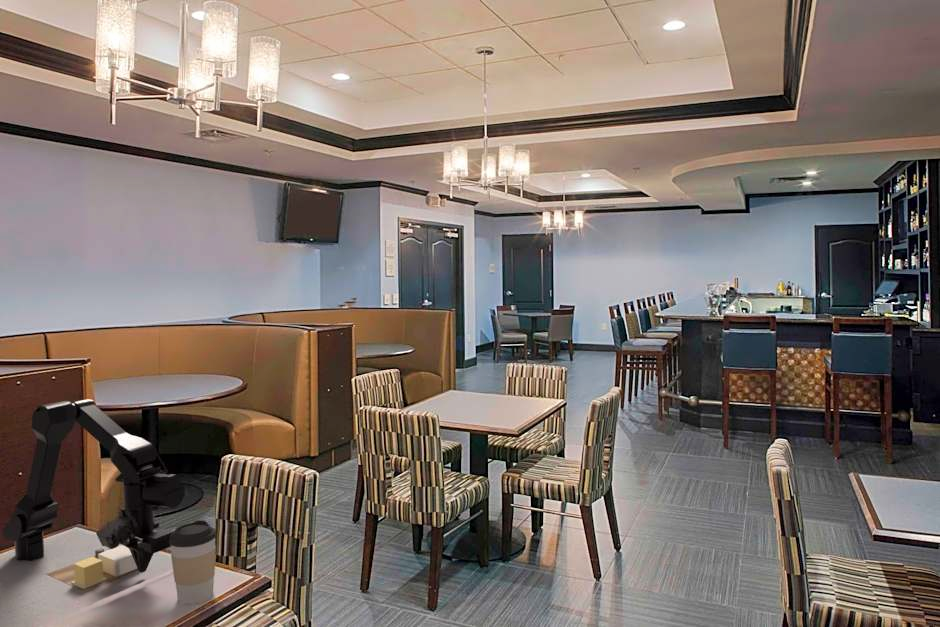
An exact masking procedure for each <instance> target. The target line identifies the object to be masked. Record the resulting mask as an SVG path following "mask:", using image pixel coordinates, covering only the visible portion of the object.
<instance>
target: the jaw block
mask: <svg viewBox="0 0 940 627" xmlns="http://www.w3.org/2000/svg"><path fill="white" fill-rule="evenodd" d="M73 564H74V578H75V582H77V583H79V584H81V585H83V586H86V585H89V584H91V583H94V582H96V581H99V580H101V579H104V578H103V561H102V560H100V559H97V558H95V557H93V556H91V557H88V558H85V559H83V560H80V561H77V562H74V563H73Z"/></svg>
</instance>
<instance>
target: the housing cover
mask: <svg viewBox="0 0 940 627" xmlns="http://www.w3.org/2000/svg"><path fill="white" fill-rule="evenodd" d="M104 551H105V552H102V553H99V554H98V559H100V560H102V561H103V571H104V572H106V573H108V574H111V575H113V576H115V577H118V576H120V575H123V574H125V573H127V572H130V571H132V570H135V569H137V566H136V563H135V561H134V559H133V556H132V554H131V552H130V550H129V549H128V548H127V547H125V546H123V545H121V544H120V545H119V546H117V547H116V548H114V549H107V550H104Z"/></svg>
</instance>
